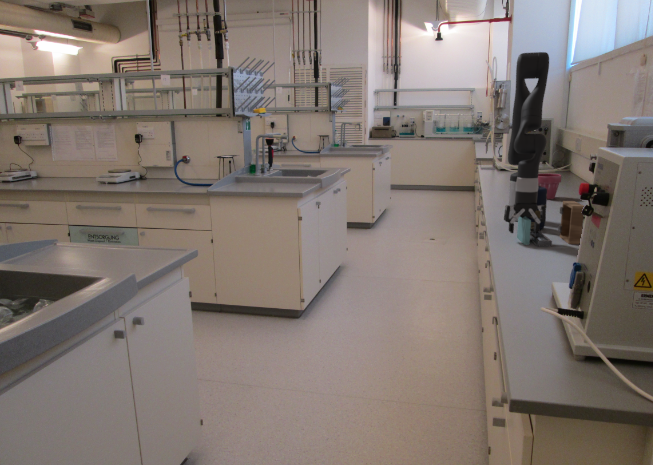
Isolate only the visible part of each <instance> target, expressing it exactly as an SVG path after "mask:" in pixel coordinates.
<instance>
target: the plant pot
mask: <svg viewBox="0 0 653 465" xmlns="http://www.w3.org/2000/svg"><path fill="white" fill-rule="evenodd" d="M560 183H562V175H561V174H559V173H545V172H544V173H538V185H539V186H541V187H545V188H546V189H547V200H554V199H555V198H556V195H557V192H558V189H559V186H560Z"/></svg>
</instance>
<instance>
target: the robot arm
mask: <svg viewBox="0 0 653 465" xmlns="http://www.w3.org/2000/svg"><path fill="white" fill-rule="evenodd" d="M515 68H516V70H515V93H514V101H513V108H512V119H511V133H510V134H511V135H510V140H509V145H508V153H507V161H508V164H510V165H511V166H517V172H514V173H511V174H510V177H509V190H508V191H509V192H508V204H506V205H505V207H504V216H503V221H504V222H506V223H508V232H510V234H514V231H515V230H514V229H515V228H514V226H515V222H518V218H519V217H532V218H533V219H534V220H535V223H534V229H533V231H534V233H538V232H539V231H540V229H539V228H540V223H541V222H545V223H546V220H547V215H546V214H547V207H546V206H547V205H546V206H544V205H541V206H537V195H538V174H539V172H540V171H539V168H540V163H541V160H542V159H541V158H543V154H544V151H545V148H546V146H547V138H546V136H545V134H542V133H530V132H535V131H538V130H540V129H541V127H542V123H543V105H544V99H545V94H546V89H547V82H548V75H549V71H550V70H549V69H550V56H549V53H548V52H544V51H542V52H541V51H539V52H538V51H537V52H536V51H535V52H524V53H520V54H519V55H518V58H517V61H516V66H515ZM527 79H528V80H530V79H533V80H534V79H537V83H536V85H535V86H534V88H533V89H532V91H530V89H529V87H528V86H527V83H526V80H527ZM537 209H539V211H540V218H539V219H538V217H537V216H536V214H535V212H536V210H537Z"/></svg>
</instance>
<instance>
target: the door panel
mask: <svg viewBox="0 0 653 465" xmlns="http://www.w3.org/2000/svg"><path fill="white" fill-rule="evenodd" d="M530 228H531V220H530V219H528V218H527V217H519V218H518V221H517V232H516V239H517V240H518V241H519V242H521V243H522V244H523V245H525V246H526V245H527V246H528V245H530V242H531V240H530V231H531V229H530Z"/></svg>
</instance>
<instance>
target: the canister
mask: <svg viewBox="0 0 653 465" xmlns="http://www.w3.org/2000/svg"><path fill="white" fill-rule="evenodd" d="M547 202H548V199H547V189H546V188H545V187H541V186H539V185H538V195H537V206H541V205H544V206H546V208H547V207H548V206H547ZM535 214H536V216H537V217H538V219H539V218H540V211H539V209H537V210H536V212H535ZM527 218H528V219H530V220H531V228H530V230H534V223H535V220H534V219H533V218H532V217H527ZM545 224H546V221H545V222H541V223H540V228H539V230H542V229H544V228H545Z"/></svg>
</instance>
